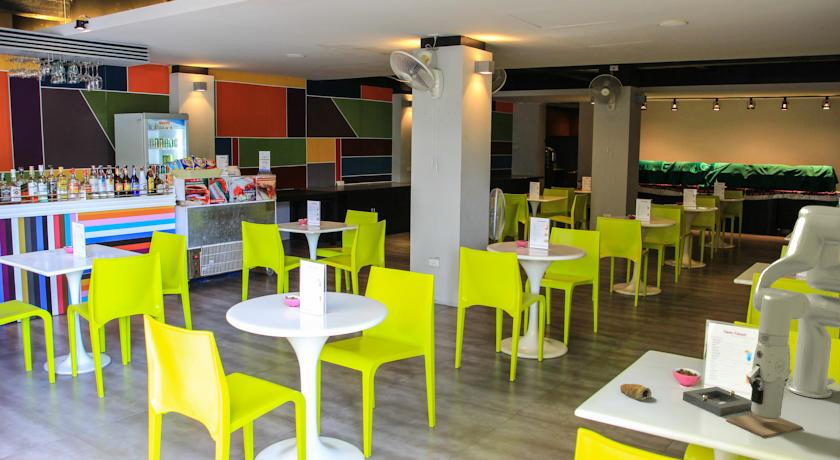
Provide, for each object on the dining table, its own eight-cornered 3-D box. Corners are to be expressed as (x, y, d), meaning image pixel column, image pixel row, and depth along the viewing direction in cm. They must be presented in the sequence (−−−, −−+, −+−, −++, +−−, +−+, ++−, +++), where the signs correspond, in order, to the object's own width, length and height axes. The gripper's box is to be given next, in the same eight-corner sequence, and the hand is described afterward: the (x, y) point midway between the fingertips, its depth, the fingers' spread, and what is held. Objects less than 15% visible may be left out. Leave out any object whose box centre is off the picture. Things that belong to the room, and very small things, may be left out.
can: (754, 418, 197) (758, 376, 196) (747, 409, 205) (752, 368, 203) (783, 422, 196) (788, 379, 194) (776, 412, 203) (780, 370, 202)
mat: (765, 413, 209) (765, 411, 209) (802, 429, 199) (803, 427, 199) (726, 421, 202) (726, 419, 202) (762, 437, 192) (763, 435, 192)
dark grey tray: (715, 394, 224) (716, 383, 224) (754, 410, 212) (755, 398, 211) (682, 399, 218) (683, 388, 218) (720, 416, 206) (721, 404, 205)
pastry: (614, 392, 223) (615, 380, 223) (628, 388, 227) (629, 377, 226) (639, 402, 215) (640, 389, 215) (653, 398, 219) (654, 386, 219)
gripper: (763, 345, 190) (756, 409, 193) (806, 339, 198) (800, 401, 200) (739, 338, 197) (733, 400, 199) (782, 332, 205) (776, 392, 207)
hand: (766, 400), depth 200 cm, fingers closed on can, 7 cm apart
